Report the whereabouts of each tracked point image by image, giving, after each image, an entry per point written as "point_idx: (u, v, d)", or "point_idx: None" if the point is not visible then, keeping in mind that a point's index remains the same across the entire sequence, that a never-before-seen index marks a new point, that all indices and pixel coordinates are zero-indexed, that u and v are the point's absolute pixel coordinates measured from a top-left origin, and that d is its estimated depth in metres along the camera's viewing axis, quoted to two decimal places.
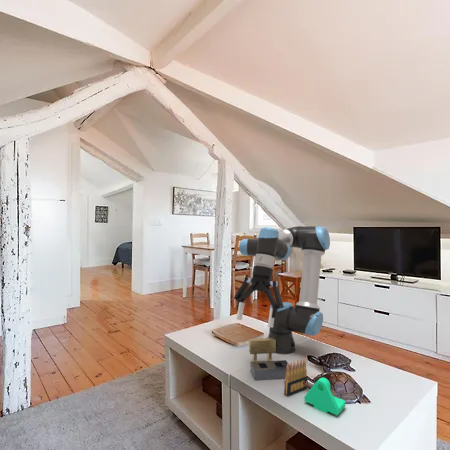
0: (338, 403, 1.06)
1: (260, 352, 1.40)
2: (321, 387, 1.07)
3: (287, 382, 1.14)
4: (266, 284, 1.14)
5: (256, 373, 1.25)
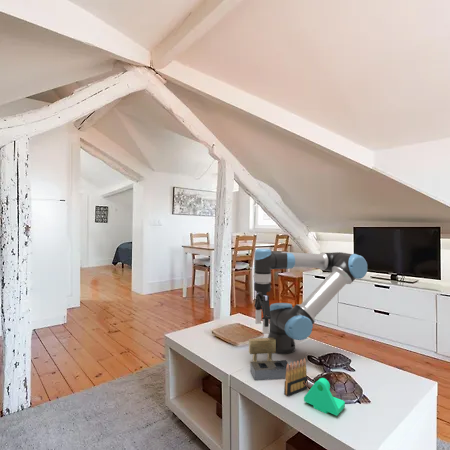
0: (338, 403, 1.05)
1: (260, 352, 1.40)
2: (321, 387, 1.07)
3: (287, 382, 1.14)
4: (261, 298, 1.38)
5: (256, 373, 1.25)
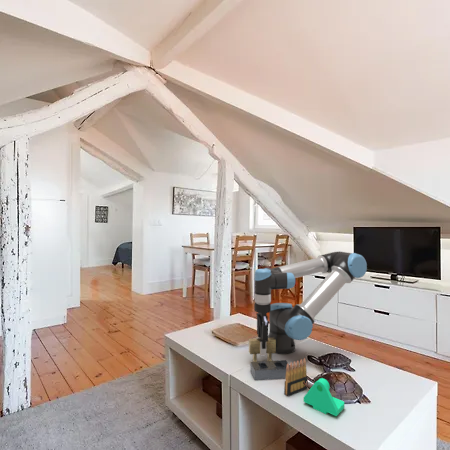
0: (337, 404, 1.05)
1: None
2: (320, 388, 1.07)
3: (287, 382, 1.14)
4: (261, 319, 1.38)
5: (256, 373, 1.25)
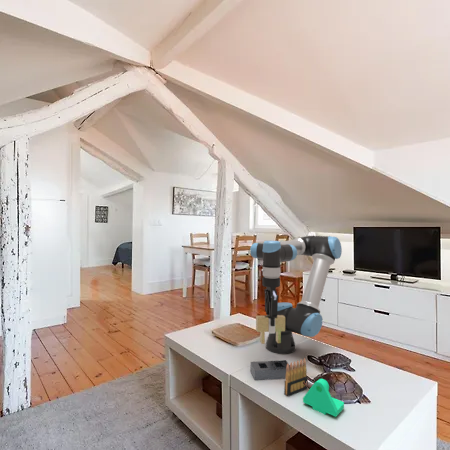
0: (337, 404, 1.05)
1: None
2: (320, 388, 1.06)
3: (287, 382, 1.14)
4: (270, 293, 1.27)
5: (256, 373, 1.25)
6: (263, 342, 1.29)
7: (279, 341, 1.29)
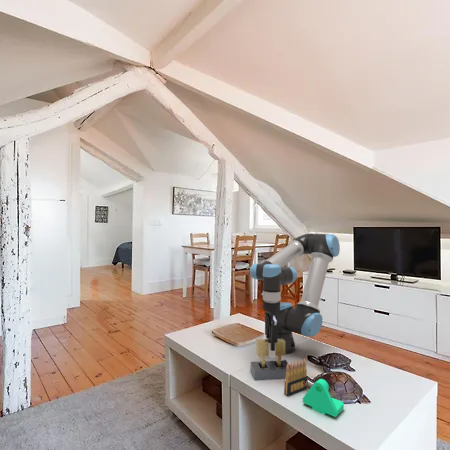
0: (336, 405, 1.05)
1: (268, 354, 1.29)
2: (319, 388, 1.06)
3: (287, 382, 1.14)
4: (270, 318, 1.27)
5: (256, 373, 1.25)
6: (263, 366, 1.28)
7: (279, 365, 1.29)
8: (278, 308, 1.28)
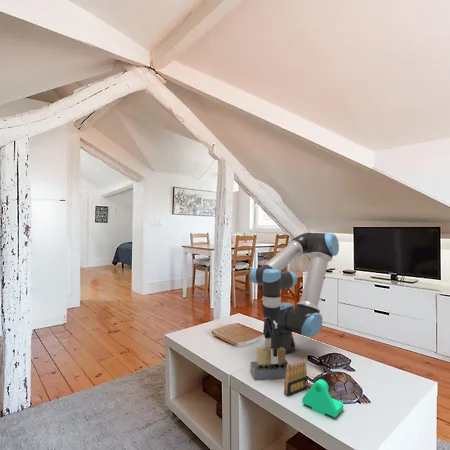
0: (336, 405, 1.04)
1: (269, 363, 1.29)
2: (319, 389, 1.06)
3: (287, 382, 1.14)
4: (270, 323, 1.27)
5: (256, 373, 1.25)
6: None
7: None
8: (278, 313, 1.28)
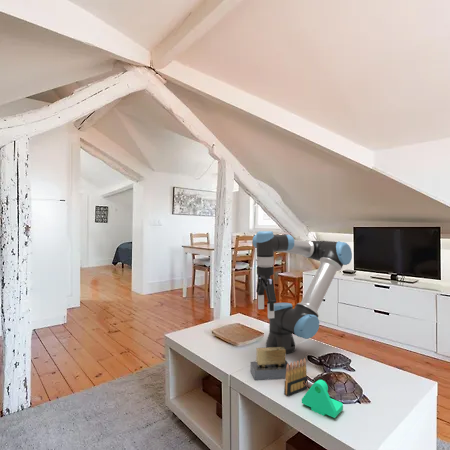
0: (336, 405, 1.04)
1: (269, 363, 1.29)
2: (318, 389, 1.06)
3: (287, 382, 1.14)
4: (265, 282, 1.32)
5: (256, 373, 1.25)
6: None
7: None
8: (272, 272, 1.33)
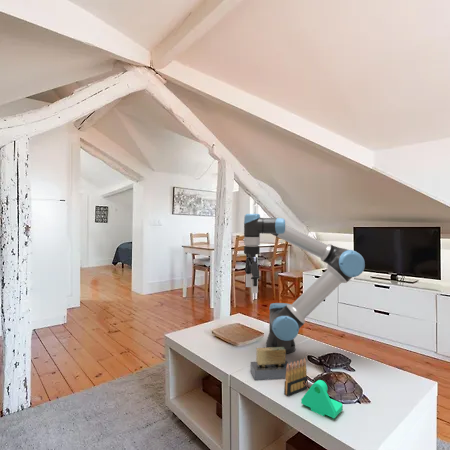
0: (335, 406, 1.04)
1: (269, 363, 1.29)
2: (318, 390, 1.06)
3: (287, 382, 1.14)
4: (250, 260, 1.43)
5: (256, 373, 1.25)
6: None
7: None
8: (257, 251, 1.44)
